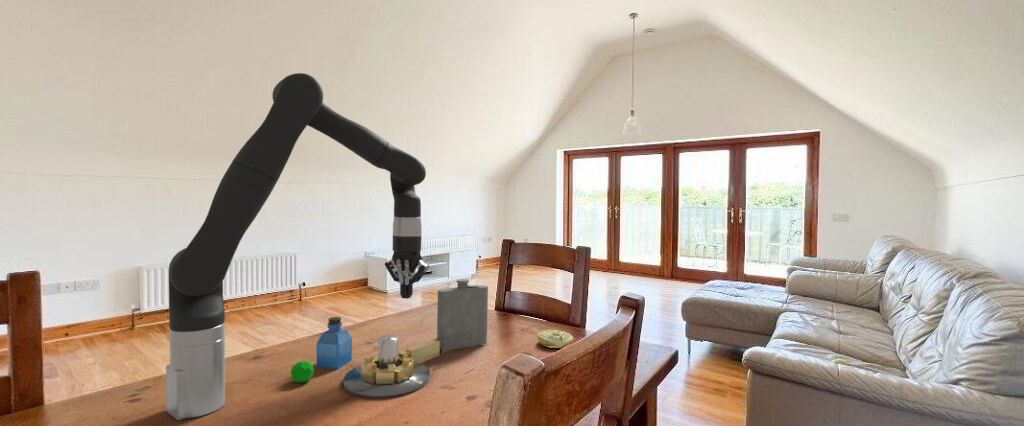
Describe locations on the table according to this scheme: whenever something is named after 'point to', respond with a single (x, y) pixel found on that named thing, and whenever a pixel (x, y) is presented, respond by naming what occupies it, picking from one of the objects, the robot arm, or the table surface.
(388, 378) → the ring wrench
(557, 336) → the decorated donut
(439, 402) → the table surface
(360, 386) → the flange
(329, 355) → the perfume bottle
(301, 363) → the polyhedron
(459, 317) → the hip flask
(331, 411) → the table surface
